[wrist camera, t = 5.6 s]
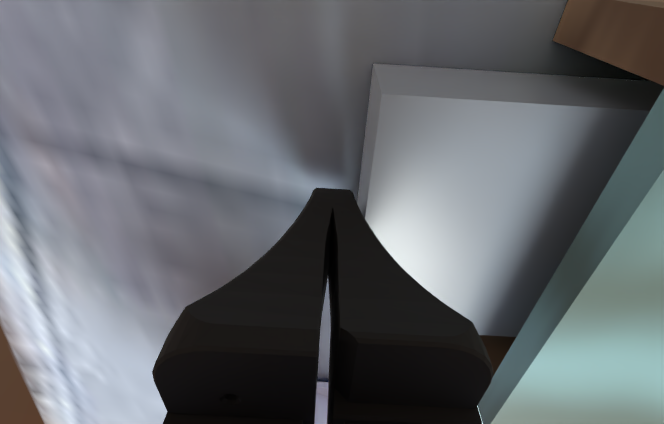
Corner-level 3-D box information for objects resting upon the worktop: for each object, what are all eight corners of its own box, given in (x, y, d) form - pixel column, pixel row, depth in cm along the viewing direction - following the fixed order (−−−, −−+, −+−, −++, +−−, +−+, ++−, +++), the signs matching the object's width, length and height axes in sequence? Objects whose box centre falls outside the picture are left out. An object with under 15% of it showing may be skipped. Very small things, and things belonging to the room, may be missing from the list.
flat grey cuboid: (653, 289, 16) (707, 347, 14) (348, 271, 16) (350, 327, 14) (820, 91, 11) (954, 129, 9) (373, 63, 11) (381, 94, 9)
